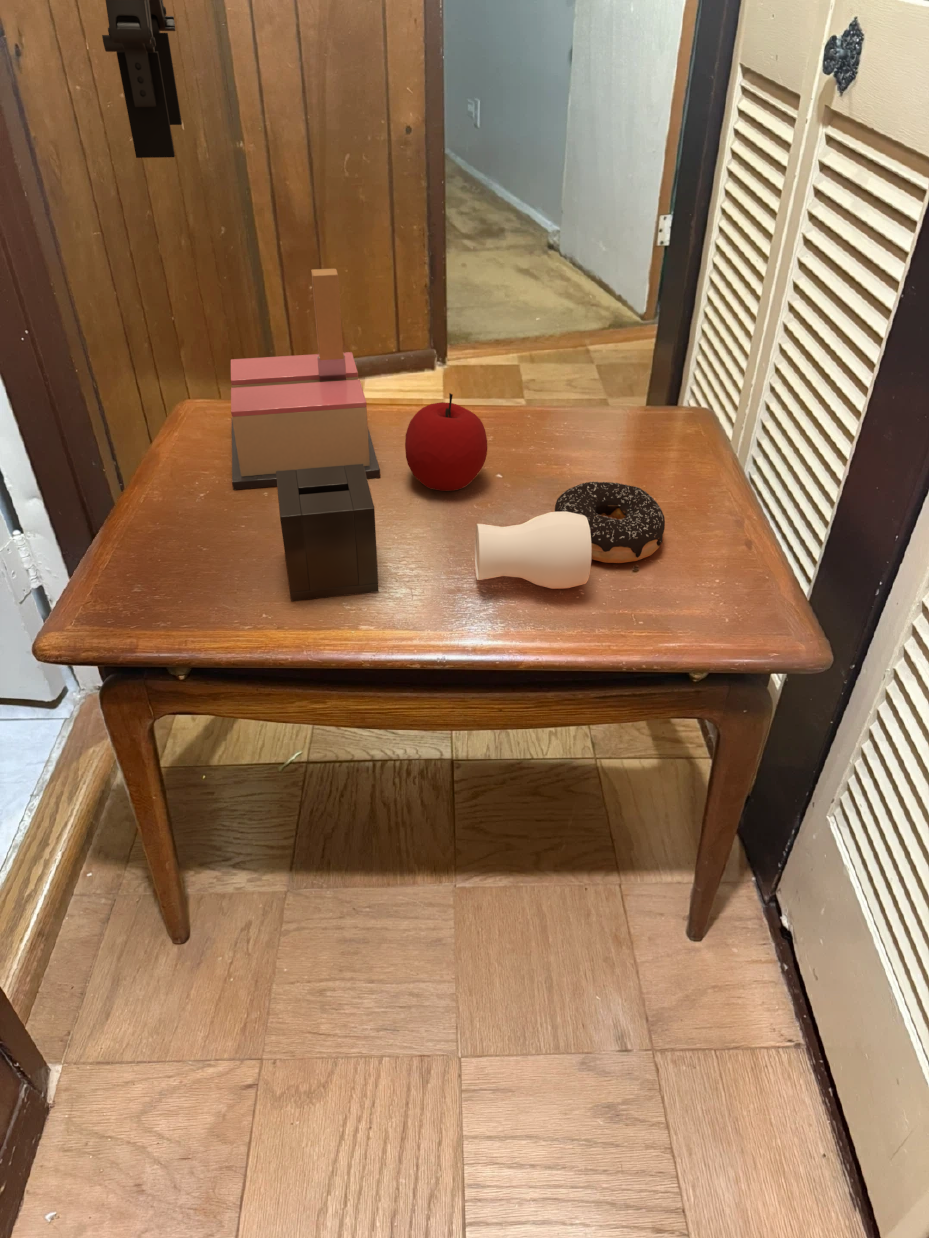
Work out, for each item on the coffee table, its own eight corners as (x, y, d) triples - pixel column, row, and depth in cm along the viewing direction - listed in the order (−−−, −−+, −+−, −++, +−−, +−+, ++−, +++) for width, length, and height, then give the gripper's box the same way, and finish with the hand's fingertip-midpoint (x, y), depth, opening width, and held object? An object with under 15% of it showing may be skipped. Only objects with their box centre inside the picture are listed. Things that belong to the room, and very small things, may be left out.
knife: (325, 444, 100) (310, 275, 88) (323, 436, 102) (309, 269, 90) (351, 442, 101) (340, 274, 89) (349, 434, 102) (338, 268, 90)
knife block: (291, 601, 78) (279, 516, 73) (286, 552, 84) (275, 470, 79) (378, 591, 80) (374, 508, 74) (368, 544, 86) (363, 463, 80)
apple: (390, 472, 97) (387, 388, 91) (460, 454, 101) (462, 372, 95) (428, 510, 91) (428, 423, 85) (501, 490, 95) (506, 405, 88)
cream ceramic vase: (478, 606, 78) (586, 603, 79) (480, 541, 74) (596, 538, 75) (472, 561, 84) (573, 559, 85) (474, 498, 80) (581, 496, 80)
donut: (629, 500, 94) (634, 467, 91) (684, 560, 85) (691, 525, 82) (534, 515, 91) (537, 482, 88) (581, 579, 82) (586, 544, 80)
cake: (233, 490, 93) (220, 416, 88) (232, 424, 106) (221, 356, 100) (380, 477, 96) (377, 405, 91) (363, 415, 108) (359, 348, 103)
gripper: (145, -258, 47) (206, 172, 60) (167, -205, 66) (211, 113, 79) (-4, -268, 46) (93, 174, 59) (63, -212, 65) (125, 113, 78)
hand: (161, 140), depth 69 cm, fingers open, 13 cm apart
